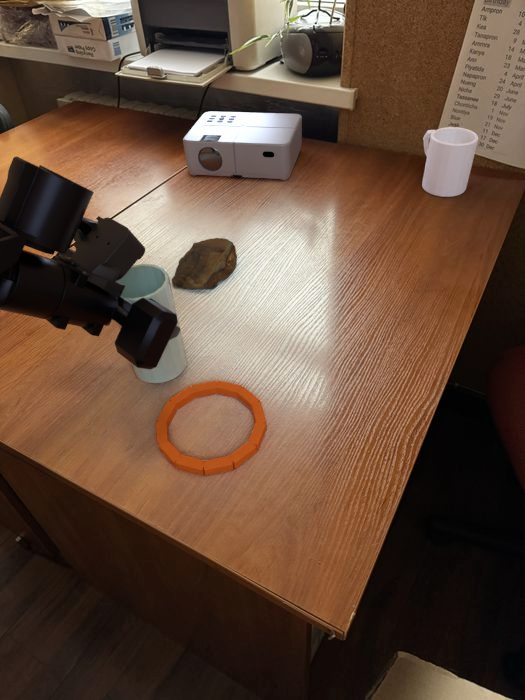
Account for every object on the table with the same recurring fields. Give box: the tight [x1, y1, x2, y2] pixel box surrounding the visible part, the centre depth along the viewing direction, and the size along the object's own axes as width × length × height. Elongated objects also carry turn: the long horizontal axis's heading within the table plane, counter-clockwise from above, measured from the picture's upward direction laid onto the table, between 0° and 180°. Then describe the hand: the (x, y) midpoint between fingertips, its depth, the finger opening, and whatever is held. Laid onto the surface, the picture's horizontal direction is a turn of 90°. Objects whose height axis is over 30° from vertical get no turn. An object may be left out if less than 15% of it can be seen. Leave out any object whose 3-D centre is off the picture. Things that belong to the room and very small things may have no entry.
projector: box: [182, 111, 303, 181], centre depth 106 cm, size 17×22×8 cm
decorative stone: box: [171, 237, 238, 290], centre depth 79 cm, size 10×9×4 cm
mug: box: [421, 126, 479, 198], centre depth 95 cm, size 8×12×10 cm
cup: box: [116, 263, 188, 384], centre depth 60 cm, size 7×7×13 cm
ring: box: [155, 379, 268, 477], centre depth 58 cm, size 12×12×1 cm
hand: (159, 319), depth 61 cm, fingers closed on cup, 7 cm apart
